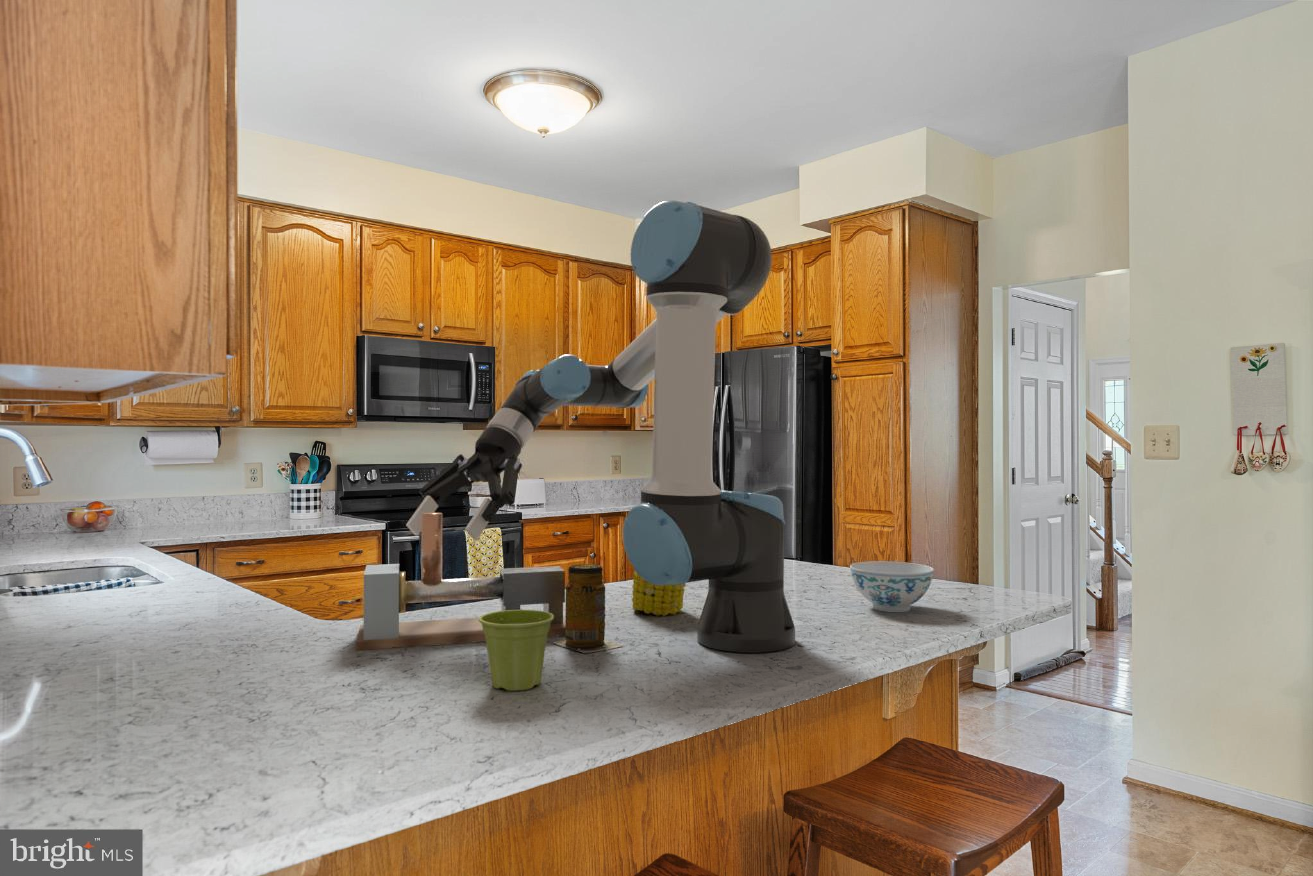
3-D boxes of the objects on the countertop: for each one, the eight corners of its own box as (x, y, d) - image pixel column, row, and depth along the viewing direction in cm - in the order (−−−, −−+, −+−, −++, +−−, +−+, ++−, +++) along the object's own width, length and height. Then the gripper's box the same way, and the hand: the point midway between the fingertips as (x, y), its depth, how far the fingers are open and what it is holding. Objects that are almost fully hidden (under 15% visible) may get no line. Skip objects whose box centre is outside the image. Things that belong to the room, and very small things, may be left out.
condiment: (591, 636, 128) (591, 561, 128) (623, 647, 122) (623, 567, 122) (552, 644, 124) (552, 565, 124) (583, 655, 117) (583, 572, 117)
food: (631, 615, 151) (684, 618, 151) (630, 614, 140) (688, 616, 140) (635, 534, 155) (687, 537, 155) (634, 526, 143) (691, 529, 143)
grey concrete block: (559, 616, 137) (559, 566, 137) (564, 623, 132) (565, 570, 132) (499, 620, 134) (499, 568, 134) (503, 627, 129) (503, 573, 129)
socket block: (399, 623, 132) (399, 563, 132) (398, 637, 122) (398, 573, 122) (366, 625, 130) (366, 565, 130) (363, 640, 121) (363, 574, 121)
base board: (558, 619, 141) (558, 612, 141) (572, 635, 129) (572, 627, 129) (360, 632, 131) (360, 624, 131) (355, 650, 120) (356, 642, 120)
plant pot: (473, 678, 105) (474, 611, 106) (544, 671, 109) (544, 606, 109) (484, 699, 97) (484, 627, 97) (561, 691, 100) (561, 621, 100)
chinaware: (880, 597, 161) (880, 559, 161) (949, 609, 149) (949, 567, 149) (833, 607, 151) (833, 566, 151) (904, 621, 140) (904, 576, 140)
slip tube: (508, 602, 135) (508, 510, 135) (513, 609, 129) (513, 513, 129) (379, 609, 129) (379, 513, 129) (378, 618, 123) (378, 516, 123)
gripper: (568, 454, 139) (509, 551, 127) (464, 454, 153) (401, 542, 140) (548, 423, 135) (485, 520, 122) (442, 425, 148) (376, 514, 135)
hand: (440, 532), depth 131 cm, fingers open, 13 cm apart
